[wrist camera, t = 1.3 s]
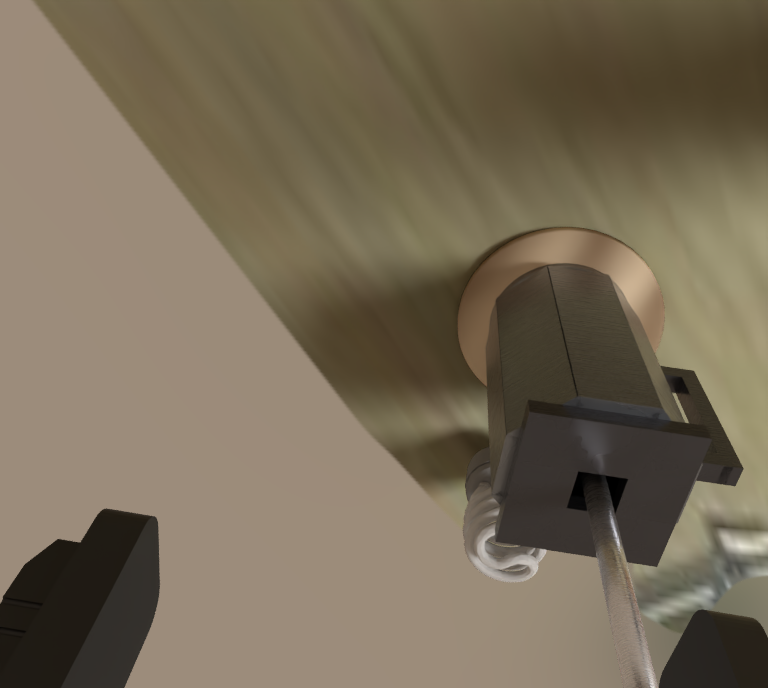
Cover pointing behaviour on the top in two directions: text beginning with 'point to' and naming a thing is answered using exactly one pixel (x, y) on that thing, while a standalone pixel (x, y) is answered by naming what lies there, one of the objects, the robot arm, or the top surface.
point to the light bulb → (491, 529)
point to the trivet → (545, 251)
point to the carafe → (591, 417)
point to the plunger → (617, 583)
